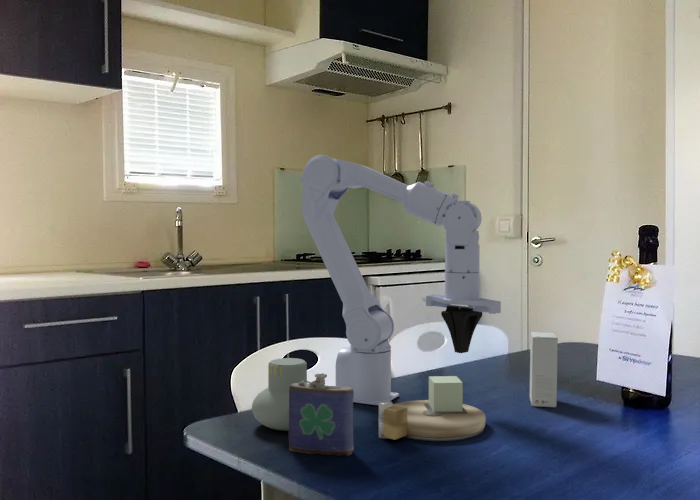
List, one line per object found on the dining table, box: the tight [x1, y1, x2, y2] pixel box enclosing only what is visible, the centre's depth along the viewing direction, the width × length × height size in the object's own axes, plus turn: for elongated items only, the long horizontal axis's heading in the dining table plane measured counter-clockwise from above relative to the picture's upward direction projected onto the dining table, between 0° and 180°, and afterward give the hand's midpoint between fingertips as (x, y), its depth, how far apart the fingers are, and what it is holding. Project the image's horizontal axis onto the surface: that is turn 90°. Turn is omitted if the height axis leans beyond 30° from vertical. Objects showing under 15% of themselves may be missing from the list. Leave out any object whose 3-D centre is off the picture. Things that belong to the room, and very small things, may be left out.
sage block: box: [428, 375, 464, 412], centre depth 105 cm, size 4×4×4 cm
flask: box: [287, 373, 354, 457], centre depth 91 cm, size 9×3×11 cm, turn 74°
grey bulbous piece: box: [251, 357, 308, 432], centre depth 102 cm, size 11×8×10 cm
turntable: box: [384, 399, 486, 441], centre depth 103 cm, size 16×16×4 cm
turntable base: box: [378, 401, 485, 442], centre depth 102 cm, size 16×17×5 cm
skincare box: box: [529, 331, 559, 408], centre depth 116 cm, size 6×4×12 cm
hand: (461, 352), depth 113 cm, fingers closed
